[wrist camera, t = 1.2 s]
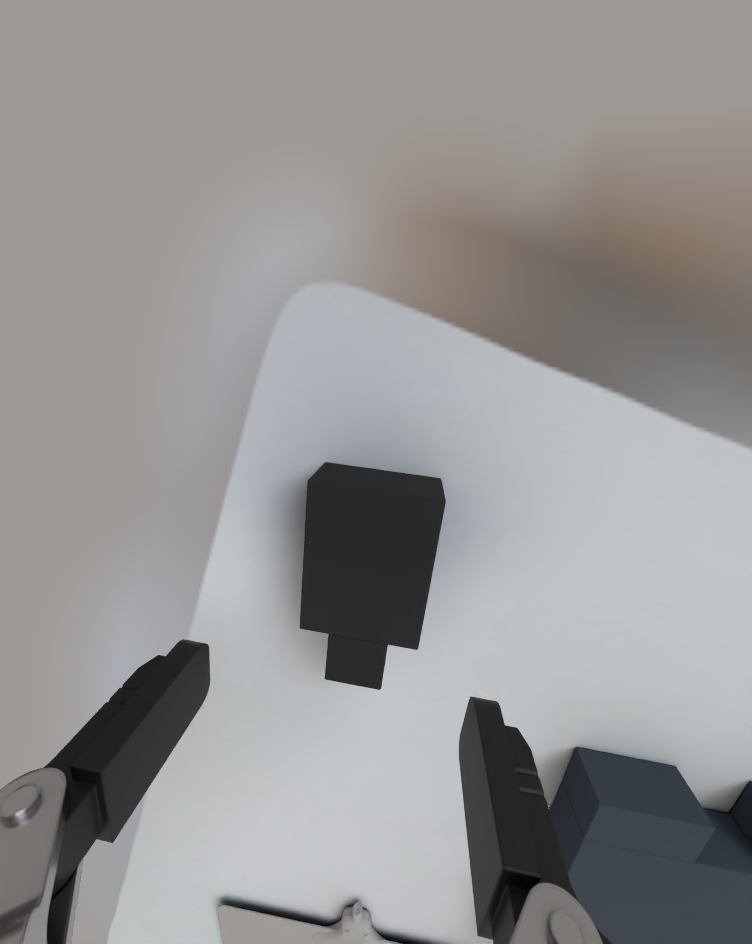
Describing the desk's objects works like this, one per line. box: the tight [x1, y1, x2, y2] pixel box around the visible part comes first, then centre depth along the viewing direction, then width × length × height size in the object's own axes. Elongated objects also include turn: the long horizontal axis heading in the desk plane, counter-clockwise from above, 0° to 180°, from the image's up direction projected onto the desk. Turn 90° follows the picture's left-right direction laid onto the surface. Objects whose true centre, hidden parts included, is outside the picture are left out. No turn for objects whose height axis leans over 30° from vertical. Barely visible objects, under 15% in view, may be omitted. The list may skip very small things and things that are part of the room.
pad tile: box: [300, 462, 446, 690], centre depth 18 cm, size 11×6×3 cm, turn 174°
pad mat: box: [550, 747, 752, 944], centre depth 22 cm, size 20×16×3 cm
